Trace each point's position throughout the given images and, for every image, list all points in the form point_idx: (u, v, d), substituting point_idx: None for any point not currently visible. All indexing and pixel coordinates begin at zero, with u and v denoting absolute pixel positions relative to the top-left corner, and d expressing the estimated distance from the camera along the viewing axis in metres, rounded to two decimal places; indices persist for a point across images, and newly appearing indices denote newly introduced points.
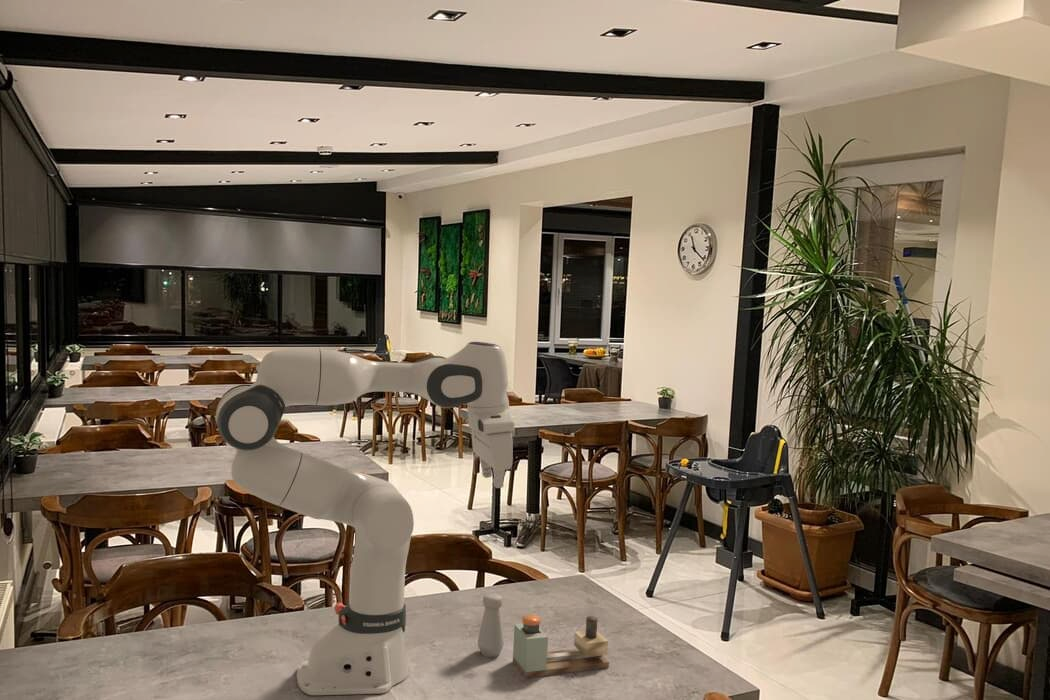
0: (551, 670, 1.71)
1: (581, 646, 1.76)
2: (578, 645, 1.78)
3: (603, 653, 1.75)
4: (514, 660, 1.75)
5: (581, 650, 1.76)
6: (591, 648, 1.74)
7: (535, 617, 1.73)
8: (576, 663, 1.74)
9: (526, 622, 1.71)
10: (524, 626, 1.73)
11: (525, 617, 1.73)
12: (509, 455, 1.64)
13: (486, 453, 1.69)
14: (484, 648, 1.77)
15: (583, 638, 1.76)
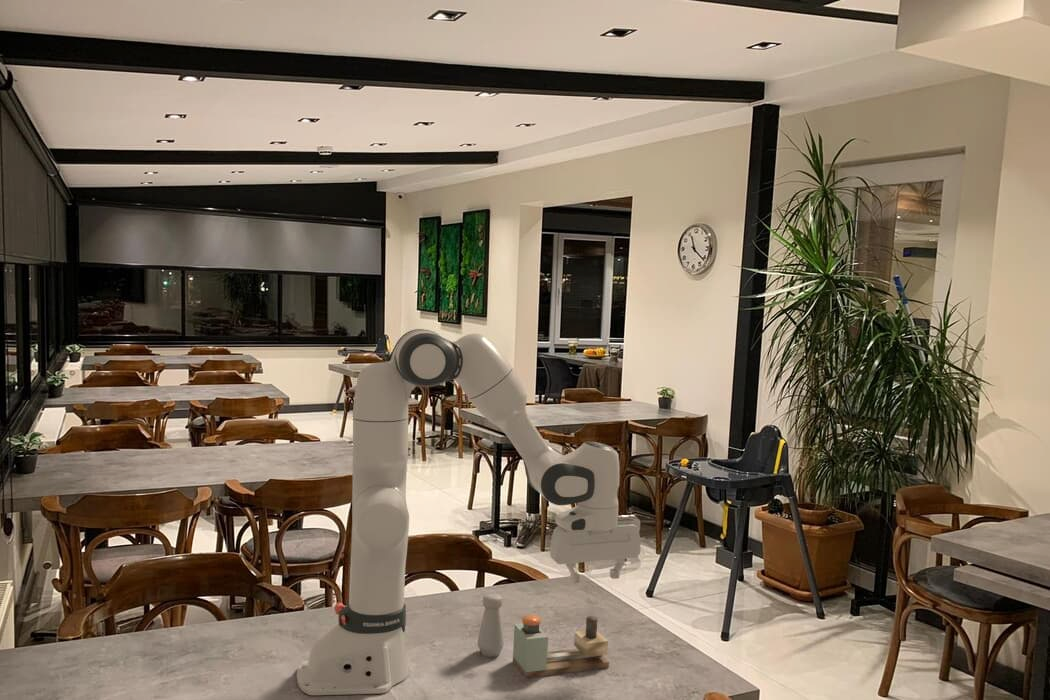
0: (551, 670, 1.71)
1: (581, 646, 1.76)
2: (578, 645, 1.78)
3: (603, 653, 1.75)
4: (514, 660, 1.75)
5: (581, 650, 1.76)
6: (591, 648, 1.74)
7: (535, 617, 1.73)
8: (576, 663, 1.74)
9: (526, 622, 1.71)
10: (524, 626, 1.73)
11: (525, 617, 1.73)
12: (556, 550, 1.72)
13: None
14: (484, 648, 1.77)
15: (583, 638, 1.76)
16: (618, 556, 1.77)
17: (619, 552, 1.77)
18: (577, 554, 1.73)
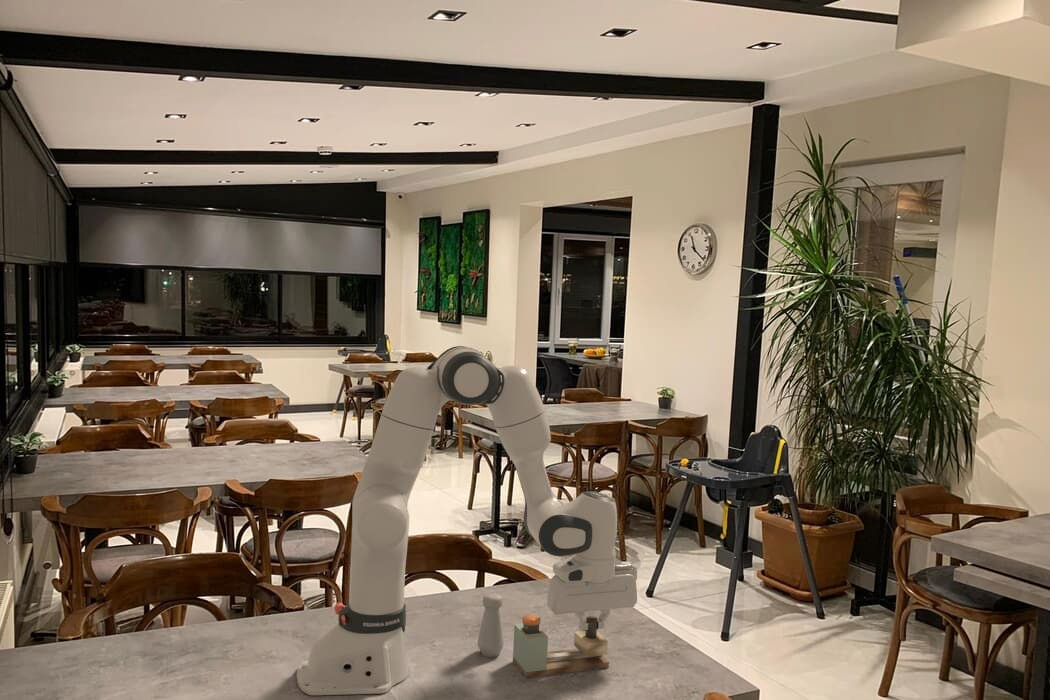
0: (551, 670, 1.71)
1: (581, 646, 1.76)
2: (578, 645, 1.78)
3: (603, 653, 1.75)
4: (514, 660, 1.75)
5: (581, 650, 1.76)
6: (591, 648, 1.74)
7: (535, 617, 1.73)
8: (576, 663, 1.74)
9: (526, 622, 1.71)
10: (524, 626, 1.73)
11: (525, 617, 1.73)
12: (552, 600, 1.73)
13: None
14: (484, 648, 1.77)
15: (583, 638, 1.76)
16: (615, 606, 1.77)
17: (616, 602, 1.77)
18: (574, 604, 1.74)
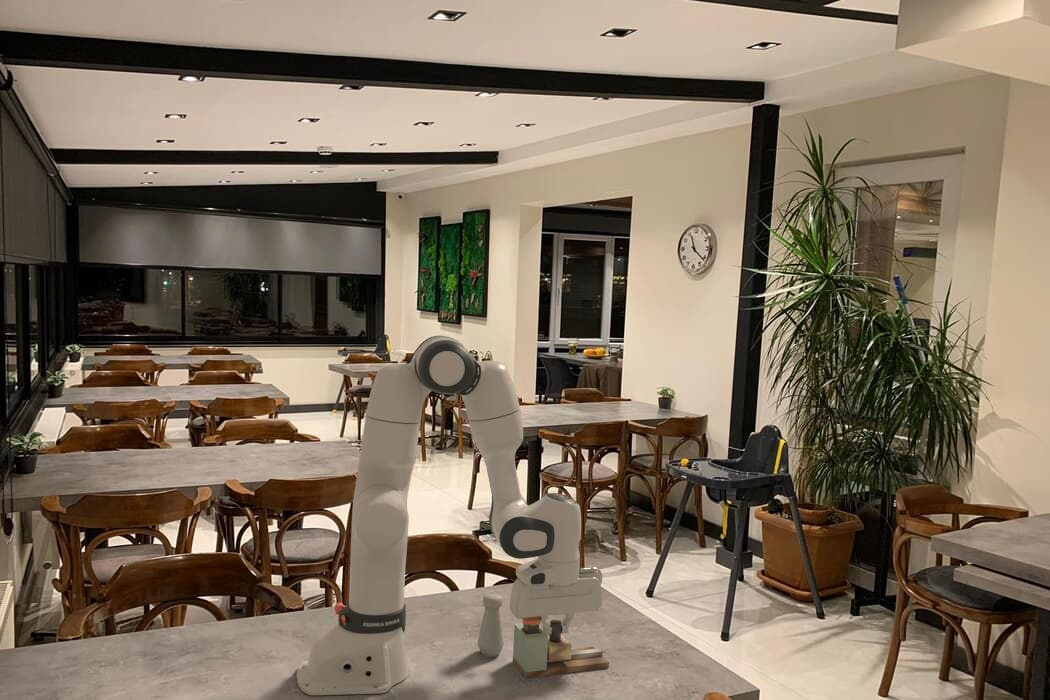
0: (551, 670, 1.71)
1: None
2: None
3: (567, 657, 1.73)
4: (514, 660, 1.75)
5: None
6: (554, 652, 1.71)
7: (535, 617, 1.73)
8: (576, 663, 1.74)
9: (526, 622, 1.71)
10: (524, 626, 1.73)
11: None
12: (515, 604, 1.70)
13: None
14: (484, 648, 1.77)
15: None
16: (579, 610, 1.74)
17: (580, 606, 1.74)
18: (536, 608, 1.71)
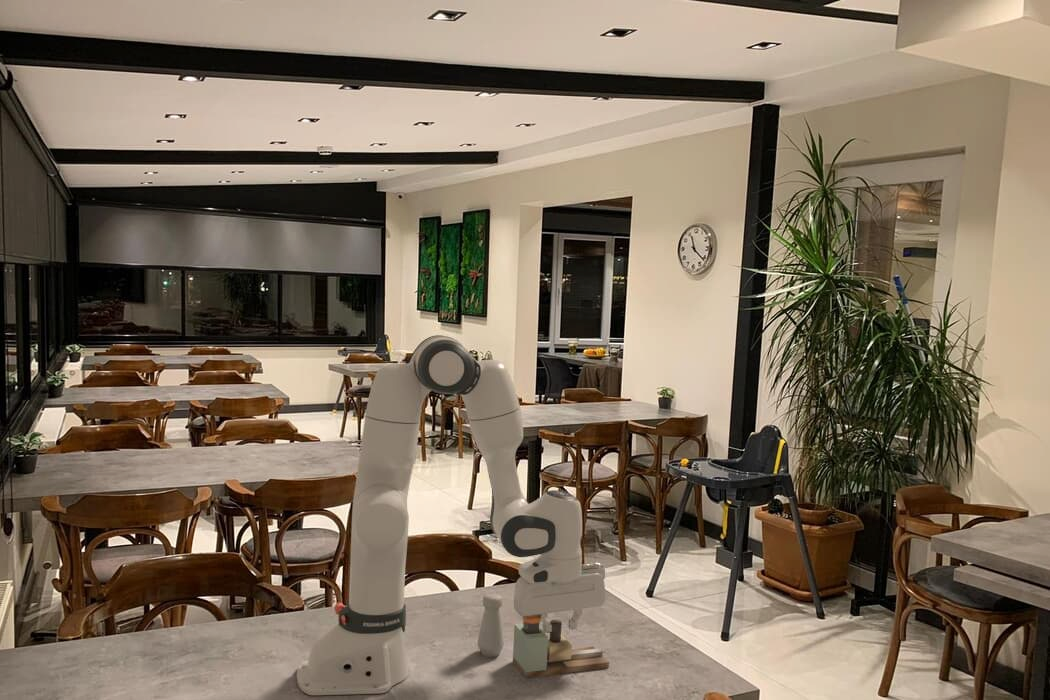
0: (551, 670, 1.71)
1: None
2: None
3: (567, 657, 1.73)
4: (514, 660, 1.75)
5: None
6: (554, 652, 1.72)
7: (536, 615, 1.73)
8: (576, 663, 1.74)
9: (526, 620, 1.71)
10: (524, 624, 1.73)
11: None
12: (518, 603, 1.70)
13: None
14: (484, 648, 1.77)
15: None
16: (583, 606, 1.75)
17: (584, 602, 1.75)
18: (540, 605, 1.71)
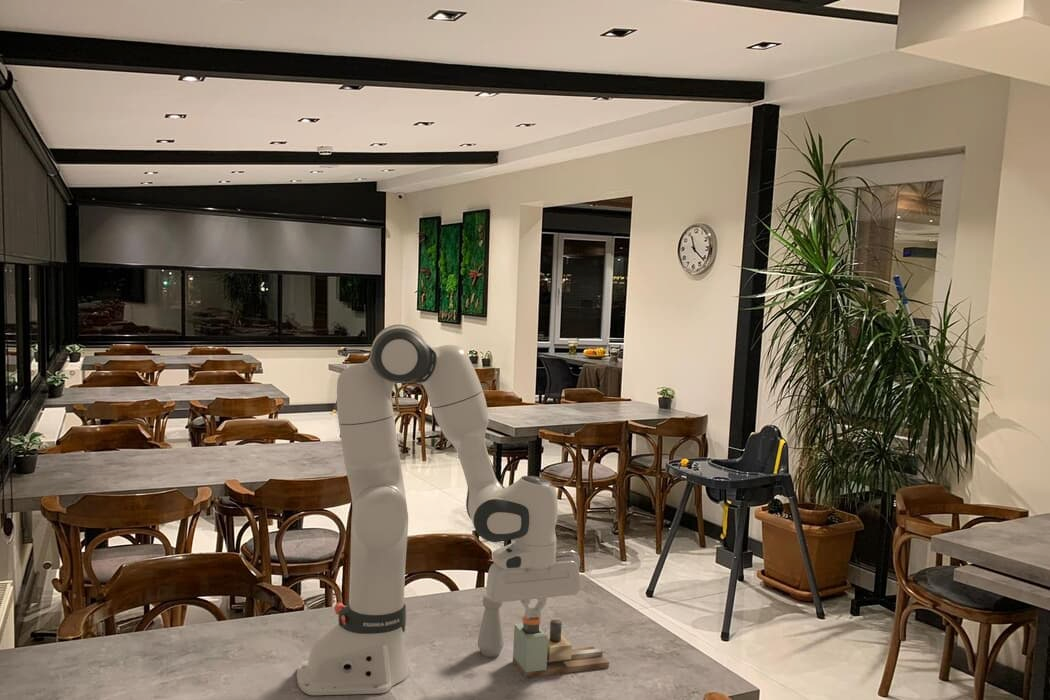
0: (551, 670, 1.71)
1: None
2: None
3: (567, 657, 1.73)
4: (514, 660, 1.75)
5: None
6: (554, 652, 1.72)
7: None
8: (576, 663, 1.74)
9: (526, 622, 1.71)
10: (524, 626, 1.73)
11: (525, 617, 1.73)
12: (491, 588, 1.68)
13: None
14: (484, 648, 1.77)
15: None
16: (556, 593, 1.72)
17: (557, 589, 1.72)
18: (513, 592, 1.69)
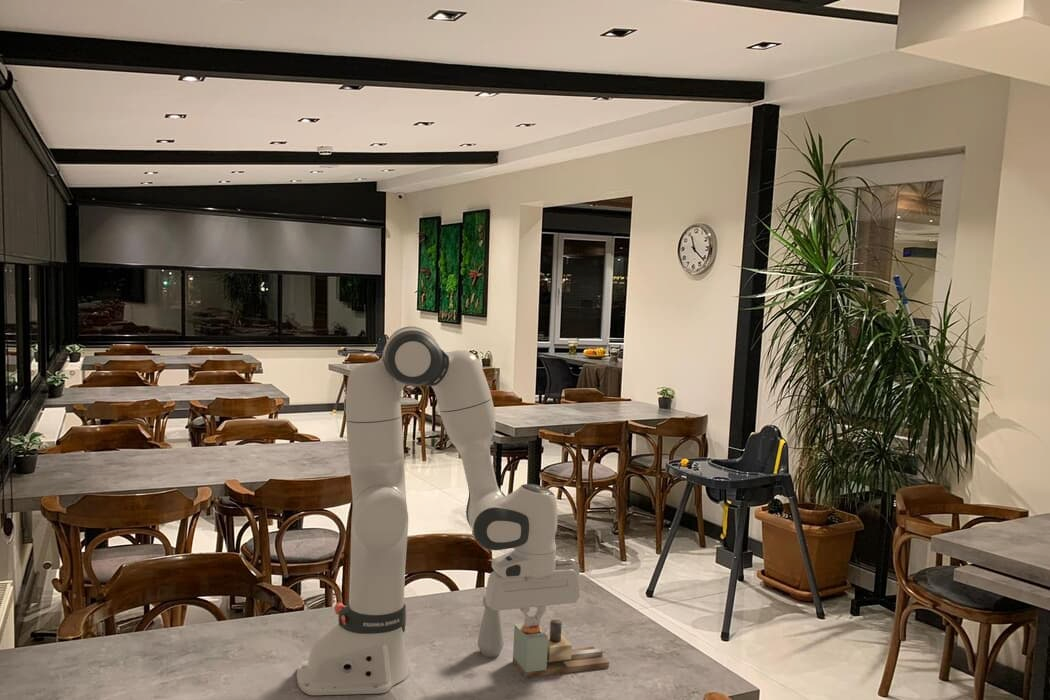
0: (551, 670, 1.71)
1: None
2: None
3: (567, 657, 1.73)
4: (514, 660, 1.75)
5: None
6: (554, 652, 1.72)
7: None
8: (576, 663, 1.74)
9: (526, 630, 1.71)
10: None
11: None
12: (490, 597, 1.68)
13: None
14: (484, 648, 1.77)
15: None
16: (556, 602, 1.72)
17: (557, 598, 1.72)
18: (512, 600, 1.69)
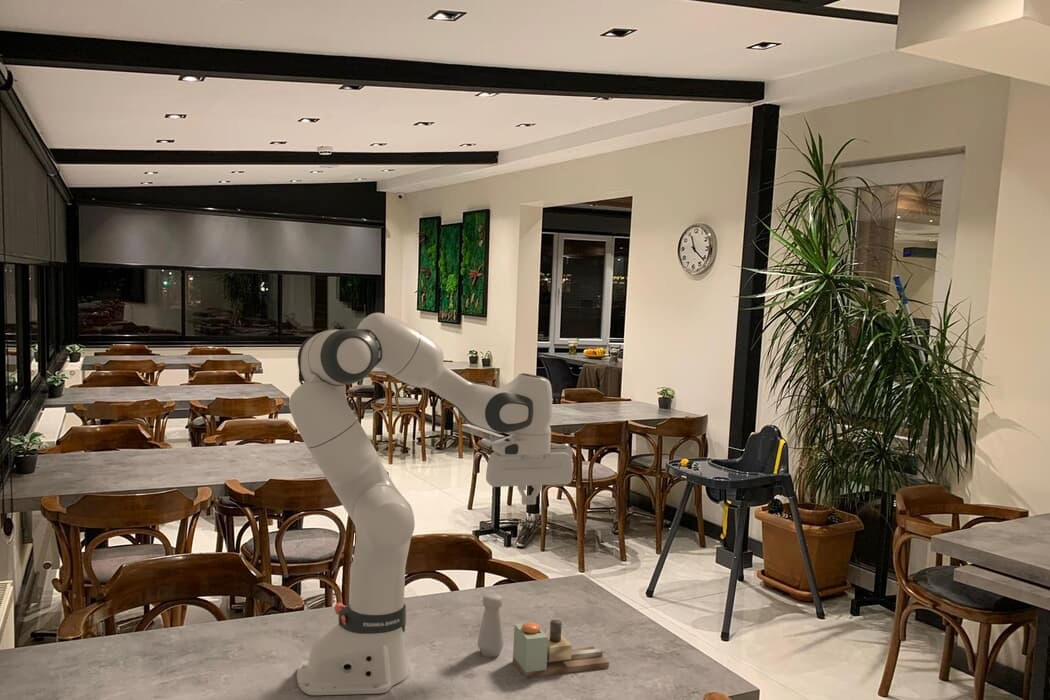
0: (551, 670, 1.71)
1: None
2: None
3: (567, 657, 1.73)
4: (514, 660, 1.75)
5: None
6: (554, 652, 1.72)
7: (535, 625, 1.73)
8: (576, 663, 1.74)
9: (526, 630, 1.71)
10: None
11: (525, 625, 1.73)
12: (490, 474, 1.83)
13: None
14: (484, 648, 1.77)
15: None
16: (550, 482, 1.87)
17: (551, 478, 1.87)
18: (510, 477, 1.84)
